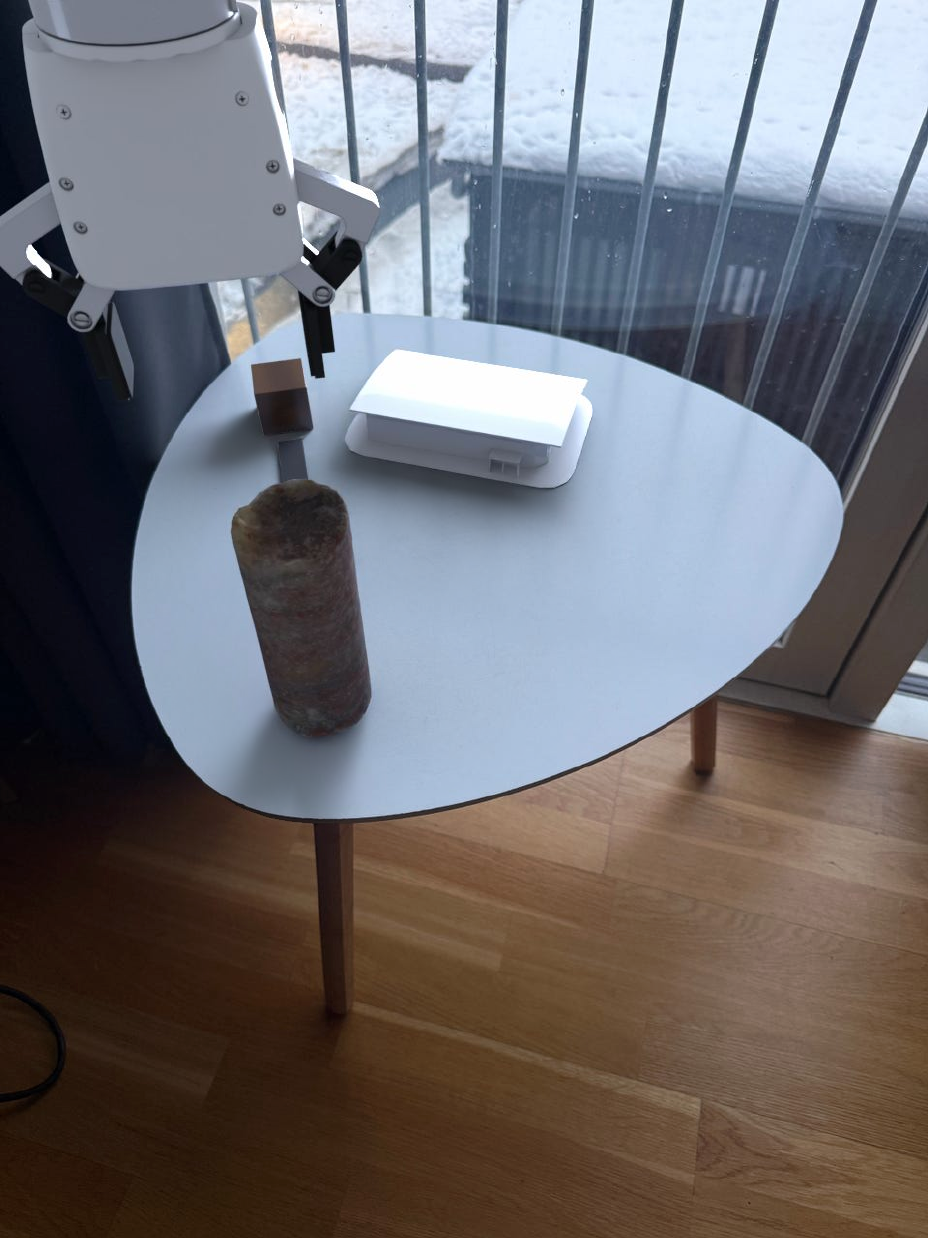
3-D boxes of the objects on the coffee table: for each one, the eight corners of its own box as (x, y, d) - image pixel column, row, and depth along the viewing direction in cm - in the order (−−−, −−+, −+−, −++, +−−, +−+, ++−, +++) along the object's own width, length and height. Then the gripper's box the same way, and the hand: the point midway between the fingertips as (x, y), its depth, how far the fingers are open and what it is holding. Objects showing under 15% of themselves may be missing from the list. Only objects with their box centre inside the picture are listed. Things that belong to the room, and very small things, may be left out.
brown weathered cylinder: (393, 716, 69) (370, 526, 53) (307, 765, 66) (256, 579, 51) (343, 651, 73) (308, 456, 57) (260, 693, 70) (200, 501, 55)
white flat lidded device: (567, 493, 84) (571, 460, 81) (336, 450, 88) (331, 418, 85) (598, 395, 94) (602, 363, 91) (387, 361, 98) (384, 329, 95)
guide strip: (305, 656, 72) (304, 654, 72) (277, 443, 89) (277, 441, 89) (335, 651, 73) (334, 649, 72) (302, 440, 90) (301, 437, 89)
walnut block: (263, 436, 90) (254, 394, 86) (260, 405, 93) (250, 364, 89) (313, 429, 91) (306, 387, 87) (308, 399, 94) (301, 357, 90)
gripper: (350, -58, 37) (378, 316, 50) (-97, -34, 35) (54, 352, 48) (376, 1, 33) (399, 397, 46) (-139, 33, 30) (41, 441, 43)
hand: (222, 374), depth 47 cm, fingers open, 9 cm apart
